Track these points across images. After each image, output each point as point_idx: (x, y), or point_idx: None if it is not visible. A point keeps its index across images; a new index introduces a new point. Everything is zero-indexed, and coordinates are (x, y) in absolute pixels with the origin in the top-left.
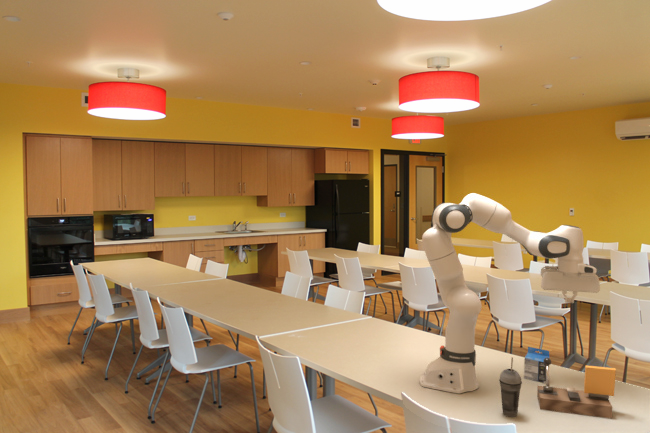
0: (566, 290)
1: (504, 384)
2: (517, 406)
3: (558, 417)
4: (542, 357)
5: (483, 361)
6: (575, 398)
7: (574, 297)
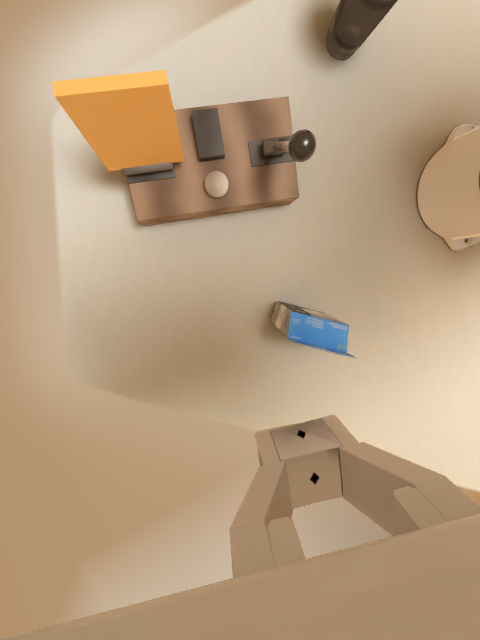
0: (456, 528)
1: None
2: (338, 5)
3: (238, 79)
4: (305, 333)
5: (412, 381)
6: (203, 109)
7: (261, 477)
